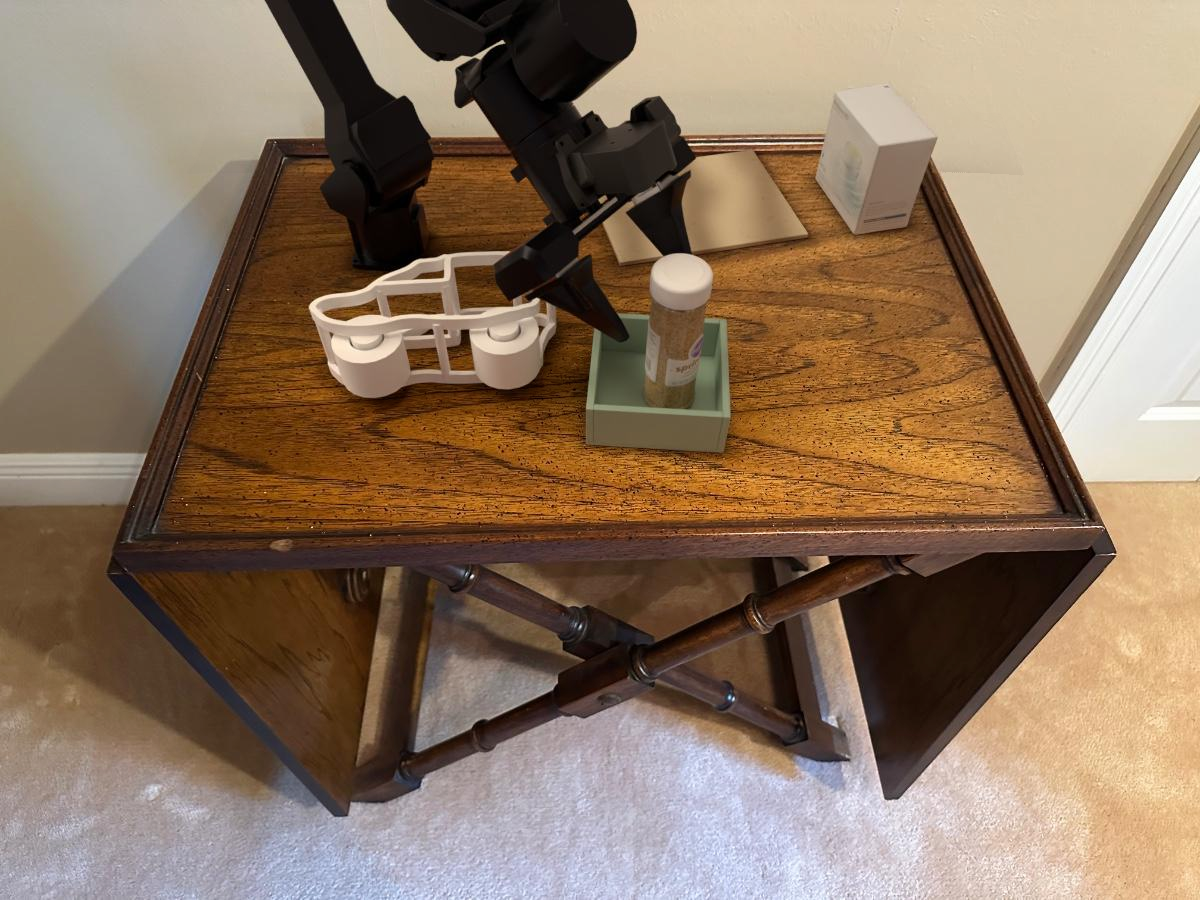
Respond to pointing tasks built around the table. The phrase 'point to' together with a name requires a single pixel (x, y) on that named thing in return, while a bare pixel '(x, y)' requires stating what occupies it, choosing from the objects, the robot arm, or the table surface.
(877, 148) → the cosmetics box
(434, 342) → the car outline toy
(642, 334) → the bin
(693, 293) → the sprinkles bottle
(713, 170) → the mat
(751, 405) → the table surface
